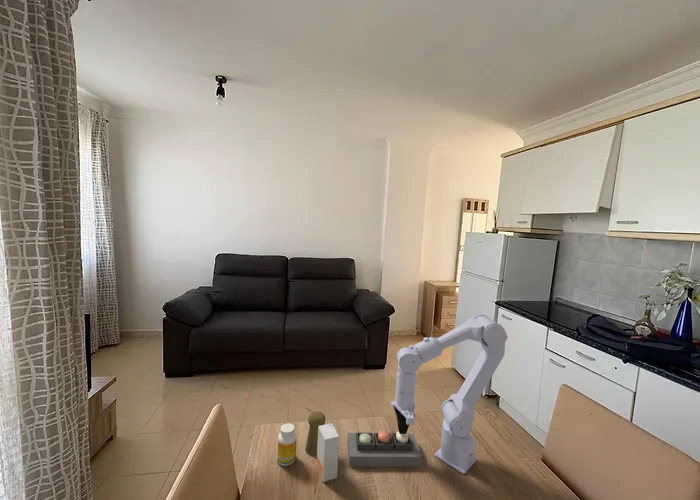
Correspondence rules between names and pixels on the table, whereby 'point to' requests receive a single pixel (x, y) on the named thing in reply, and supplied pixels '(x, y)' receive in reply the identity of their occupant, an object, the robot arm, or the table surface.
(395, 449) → the charcoal button panel
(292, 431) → the supplement bottle
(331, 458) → the skincare box
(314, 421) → the olive pepper mill
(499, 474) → the table surface
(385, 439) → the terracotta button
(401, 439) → the cream button
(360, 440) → the sage button
